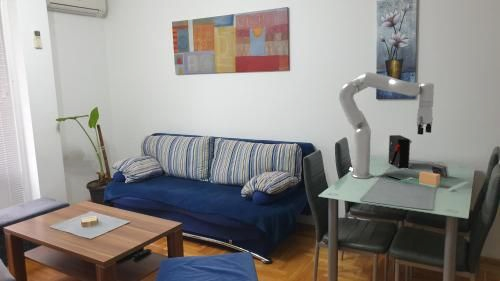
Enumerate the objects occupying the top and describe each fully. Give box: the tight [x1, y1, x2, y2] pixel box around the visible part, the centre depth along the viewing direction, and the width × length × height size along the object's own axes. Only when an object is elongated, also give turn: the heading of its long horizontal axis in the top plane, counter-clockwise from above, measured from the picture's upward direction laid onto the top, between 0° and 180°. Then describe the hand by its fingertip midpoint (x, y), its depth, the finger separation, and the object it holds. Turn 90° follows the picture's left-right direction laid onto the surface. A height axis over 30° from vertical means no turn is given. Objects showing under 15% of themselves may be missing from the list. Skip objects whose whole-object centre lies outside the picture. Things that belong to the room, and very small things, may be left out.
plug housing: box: [418, 170, 441, 185], centre depth 219 cm, size 10×4×6 cm, turn 40°
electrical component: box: [388, 134, 413, 170], centre depth 270 cm, size 18×10×20 cm, turn 179°
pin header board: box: [398, 176, 448, 189], centre depth 225 cm, size 22×14×6 cm, turn 40°
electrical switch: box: [431, 162, 450, 178], centre depth 237 cm, size 9×5×9 cm, turn 20°
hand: (424, 133), depth 230 cm, fingers open, 9 cm apart
